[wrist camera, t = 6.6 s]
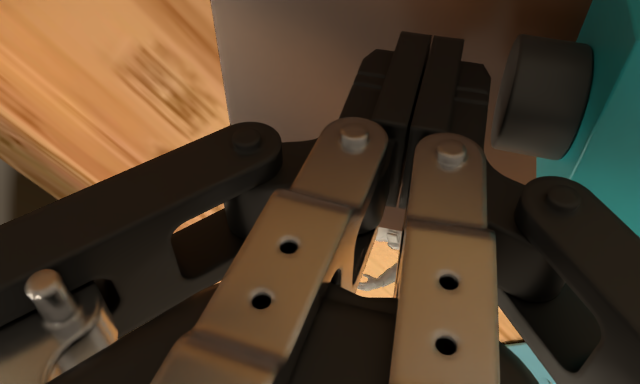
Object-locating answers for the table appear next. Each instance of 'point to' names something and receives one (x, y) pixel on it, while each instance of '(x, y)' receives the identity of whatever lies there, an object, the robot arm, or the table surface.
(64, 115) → the table surface
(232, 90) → the box
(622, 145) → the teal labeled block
